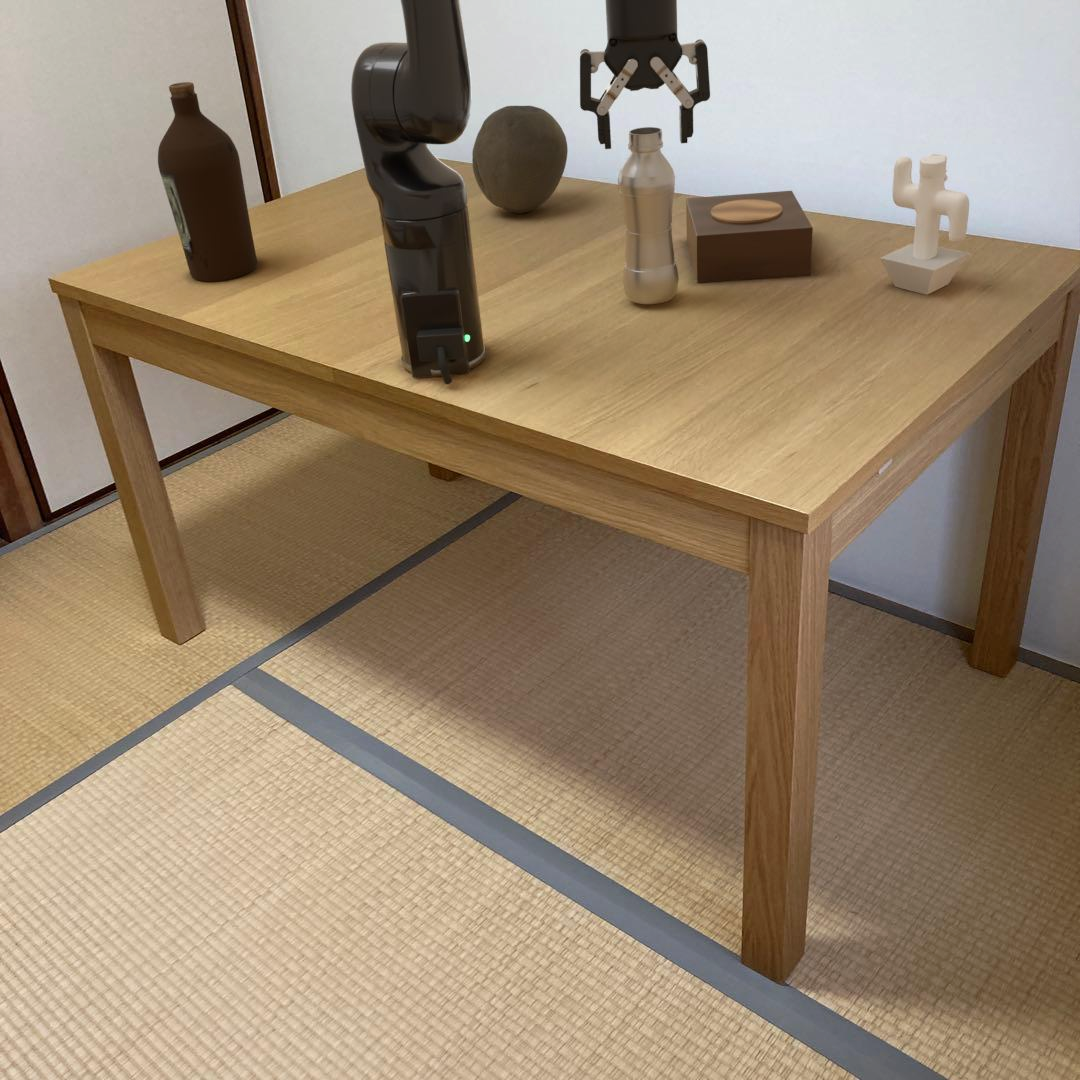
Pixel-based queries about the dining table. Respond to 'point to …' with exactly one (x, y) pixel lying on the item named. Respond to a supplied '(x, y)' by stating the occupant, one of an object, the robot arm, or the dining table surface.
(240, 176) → the olive oil
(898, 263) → the figurine
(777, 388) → the dining table surface
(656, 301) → the metal bottle
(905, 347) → the dining table surface
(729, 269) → the walnut box
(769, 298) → the dining table surface
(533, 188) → the cantaloupe
